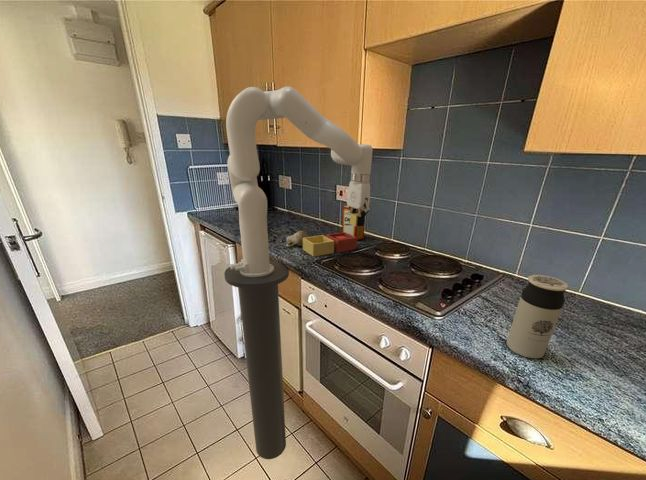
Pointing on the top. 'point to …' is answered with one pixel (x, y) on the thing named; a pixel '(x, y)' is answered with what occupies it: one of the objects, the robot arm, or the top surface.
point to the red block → (340, 237)
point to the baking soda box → (350, 229)
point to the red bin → (343, 242)
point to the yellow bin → (318, 245)
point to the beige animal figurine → (296, 239)
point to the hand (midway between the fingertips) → (356, 224)
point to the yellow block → (354, 219)
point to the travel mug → (536, 316)
